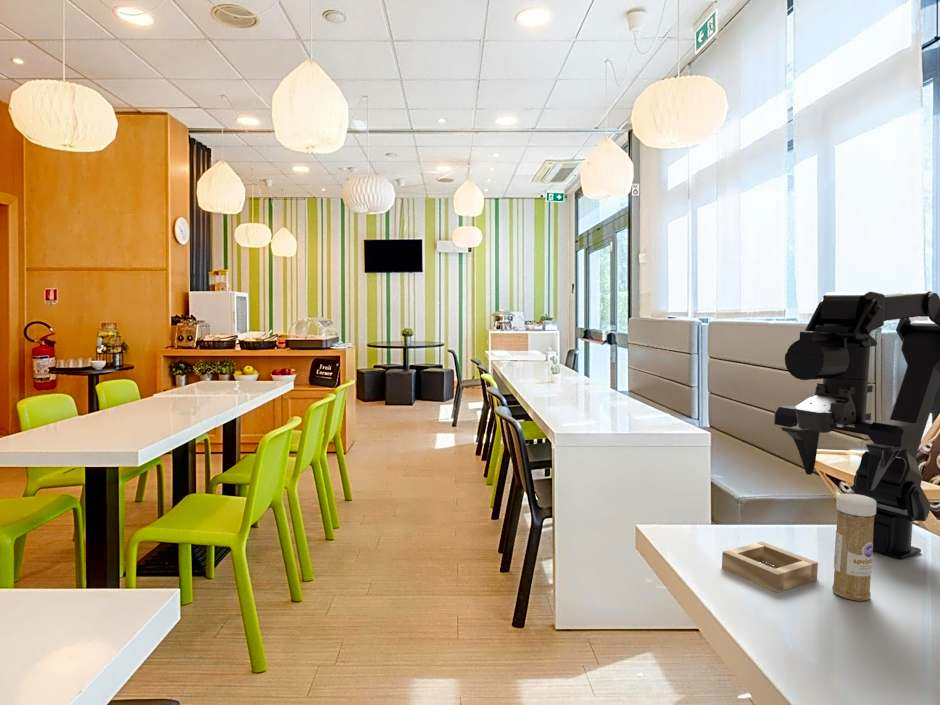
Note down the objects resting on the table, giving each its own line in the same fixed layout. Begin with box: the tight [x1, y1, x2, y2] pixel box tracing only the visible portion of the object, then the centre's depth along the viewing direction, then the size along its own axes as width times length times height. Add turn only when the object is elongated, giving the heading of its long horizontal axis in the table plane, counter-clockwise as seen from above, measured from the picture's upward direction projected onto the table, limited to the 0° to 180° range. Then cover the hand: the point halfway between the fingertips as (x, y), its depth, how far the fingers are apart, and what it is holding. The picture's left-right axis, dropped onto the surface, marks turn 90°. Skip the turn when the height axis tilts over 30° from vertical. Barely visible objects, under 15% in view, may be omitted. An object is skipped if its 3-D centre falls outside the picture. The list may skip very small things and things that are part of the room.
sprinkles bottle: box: [831, 493, 876, 602], centre depth 85 cm, size 5×5×13 cm
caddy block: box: [721, 541, 819, 593], centre depth 92 cm, size 9×9×2 cm
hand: (838, 481), depth 94 cm, fingers open, 9 cm apart
